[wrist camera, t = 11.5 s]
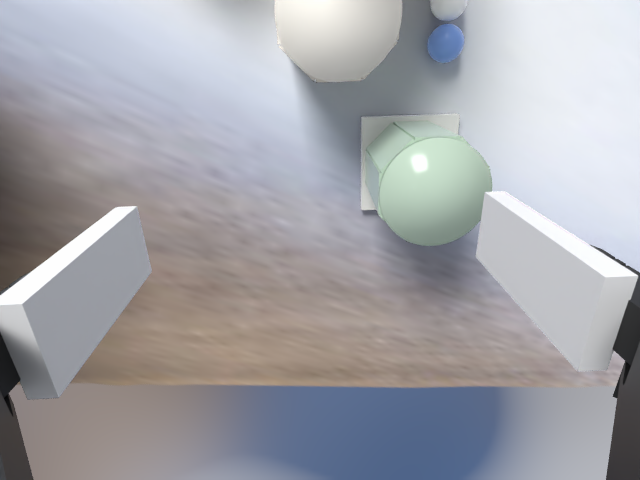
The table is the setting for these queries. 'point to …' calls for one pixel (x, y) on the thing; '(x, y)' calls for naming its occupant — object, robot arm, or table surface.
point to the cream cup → (337, 35)
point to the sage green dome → (426, 182)
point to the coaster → (377, 124)
